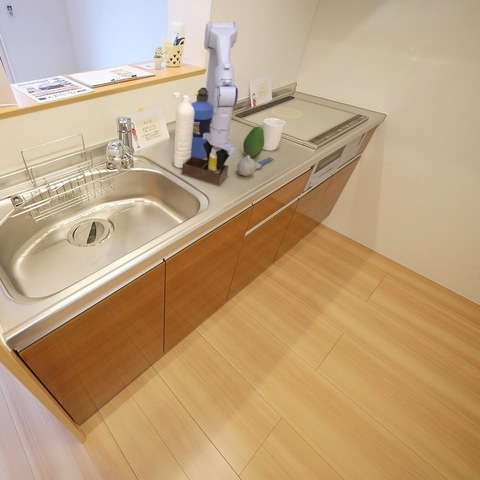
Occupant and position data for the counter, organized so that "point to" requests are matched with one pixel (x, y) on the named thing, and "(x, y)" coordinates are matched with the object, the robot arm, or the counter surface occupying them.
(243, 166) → the figurine
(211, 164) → the supplement bottle
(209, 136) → the robot arm
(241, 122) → the counter surface
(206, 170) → the crate
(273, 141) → the mug
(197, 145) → the water bottle
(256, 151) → the fruit
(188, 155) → the water bottle
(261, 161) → the wristwatch
